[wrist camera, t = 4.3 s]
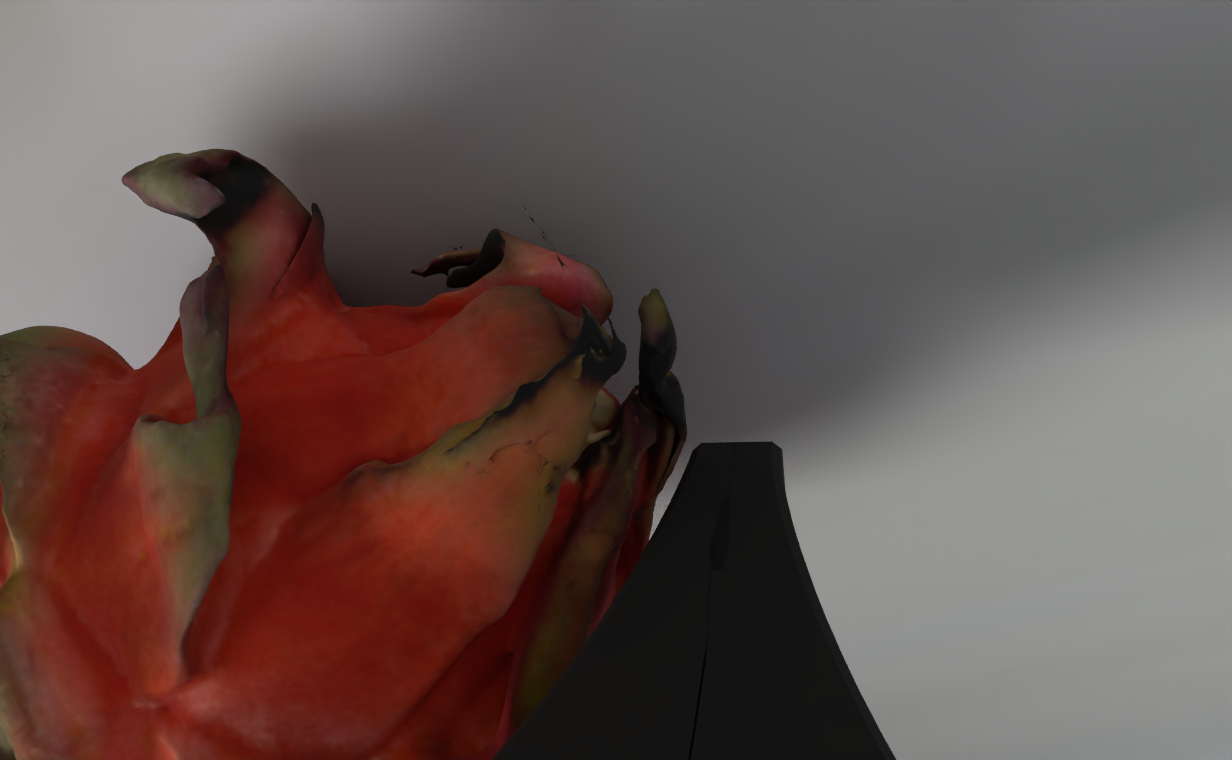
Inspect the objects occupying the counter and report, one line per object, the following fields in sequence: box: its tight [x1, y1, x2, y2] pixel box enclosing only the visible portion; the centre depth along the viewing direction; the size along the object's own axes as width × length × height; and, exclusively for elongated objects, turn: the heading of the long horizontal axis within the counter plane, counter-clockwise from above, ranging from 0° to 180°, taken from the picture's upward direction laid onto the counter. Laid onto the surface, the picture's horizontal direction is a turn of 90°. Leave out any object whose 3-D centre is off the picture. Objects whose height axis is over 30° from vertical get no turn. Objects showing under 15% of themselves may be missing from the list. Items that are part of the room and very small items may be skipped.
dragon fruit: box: [0, 149, 687, 760], centre depth 12 cm, size 8×8×12 cm
